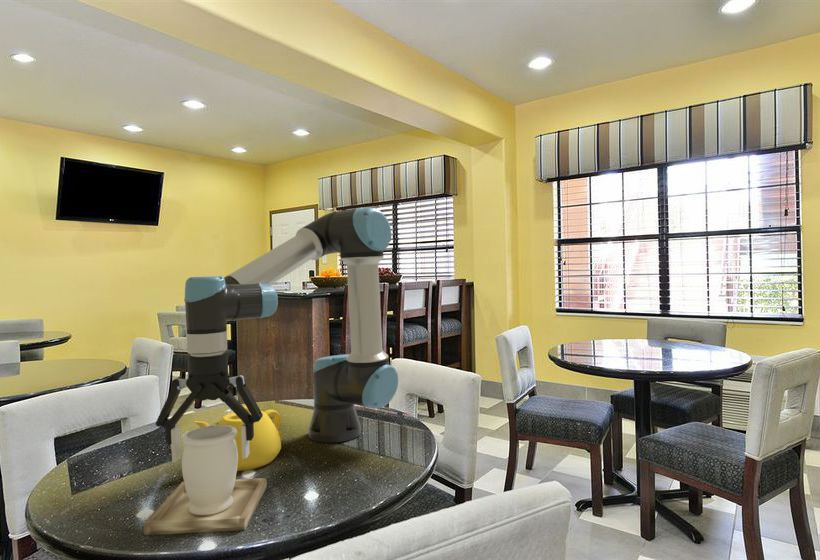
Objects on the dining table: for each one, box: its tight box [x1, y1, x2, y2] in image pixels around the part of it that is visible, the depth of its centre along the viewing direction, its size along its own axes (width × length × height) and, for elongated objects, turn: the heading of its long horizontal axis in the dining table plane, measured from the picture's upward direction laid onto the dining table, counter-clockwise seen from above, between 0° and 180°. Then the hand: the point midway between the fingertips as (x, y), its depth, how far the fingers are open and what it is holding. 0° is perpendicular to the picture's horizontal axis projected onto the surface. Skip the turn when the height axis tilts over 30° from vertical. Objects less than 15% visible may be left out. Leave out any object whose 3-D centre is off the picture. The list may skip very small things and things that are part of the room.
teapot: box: [192, 404, 284, 472], centre depth 125 cm, size 25×18×14 cm
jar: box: [181, 424, 238, 515], centre depth 99 cm, size 11×10×15 cm
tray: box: [143, 477, 268, 536], centre depth 99 cm, size 18×18×2 cm
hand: (211, 458), depth 99 cm, fingers open, 13 cm apart
